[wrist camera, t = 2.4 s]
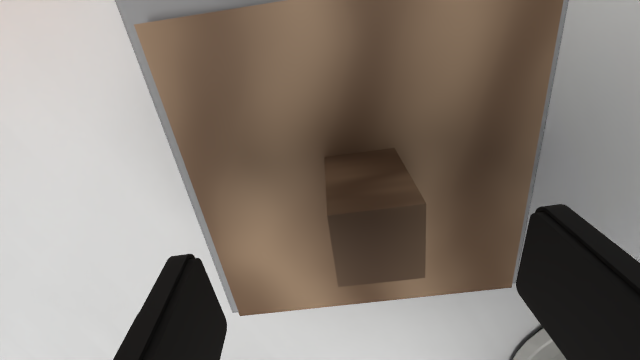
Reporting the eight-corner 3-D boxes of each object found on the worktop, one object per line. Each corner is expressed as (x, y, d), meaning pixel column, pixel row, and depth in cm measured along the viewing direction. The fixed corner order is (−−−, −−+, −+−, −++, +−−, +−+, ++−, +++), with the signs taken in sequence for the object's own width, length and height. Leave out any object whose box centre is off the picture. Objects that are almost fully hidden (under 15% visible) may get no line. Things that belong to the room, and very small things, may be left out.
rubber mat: (577, -76, 12) (583, -77, 12) (512, 279, 20) (515, 282, 20) (118, 0, 13) (114, -1, 13) (233, 309, 21) (232, 312, 21)
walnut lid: (550, -41, 12) (725, -80, 7) (500, 272, 20) (569, 369, 14) (148, 23, 13) (35, 31, 8) (244, 300, 21) (218, 400, 15)
